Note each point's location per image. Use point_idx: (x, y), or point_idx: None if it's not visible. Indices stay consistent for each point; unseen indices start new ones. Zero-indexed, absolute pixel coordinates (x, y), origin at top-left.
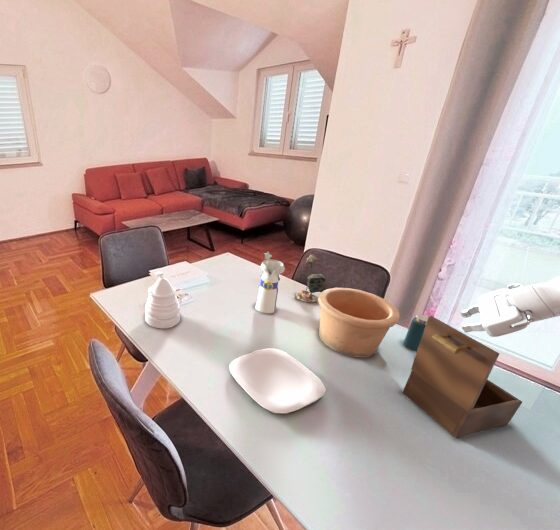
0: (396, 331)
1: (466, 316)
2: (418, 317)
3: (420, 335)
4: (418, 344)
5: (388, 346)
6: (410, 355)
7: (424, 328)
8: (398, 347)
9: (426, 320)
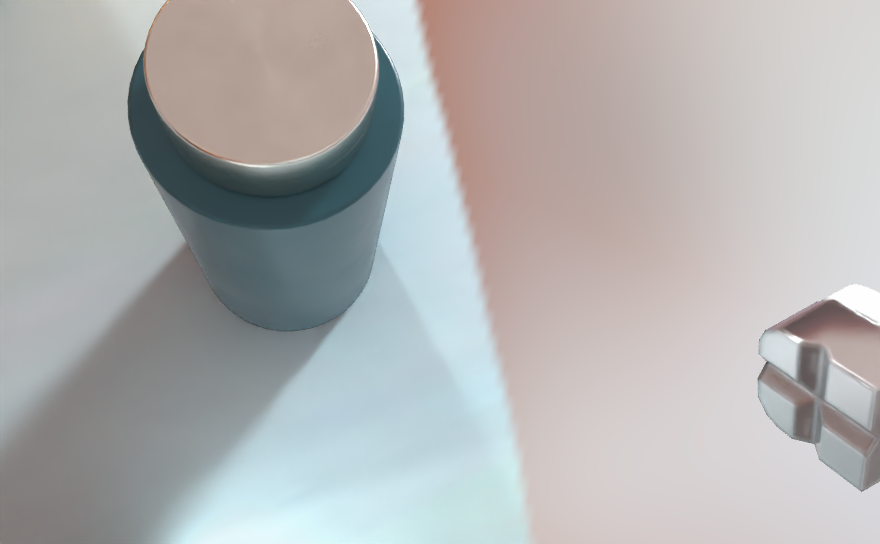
0: (404, 51)
1: (805, 426)
2: (178, 5)
3: (182, 230)
4: (214, 282)
5: (58, 141)
6: (101, 319)
7: (166, 194)
8: (135, 194)
9: (195, 110)
